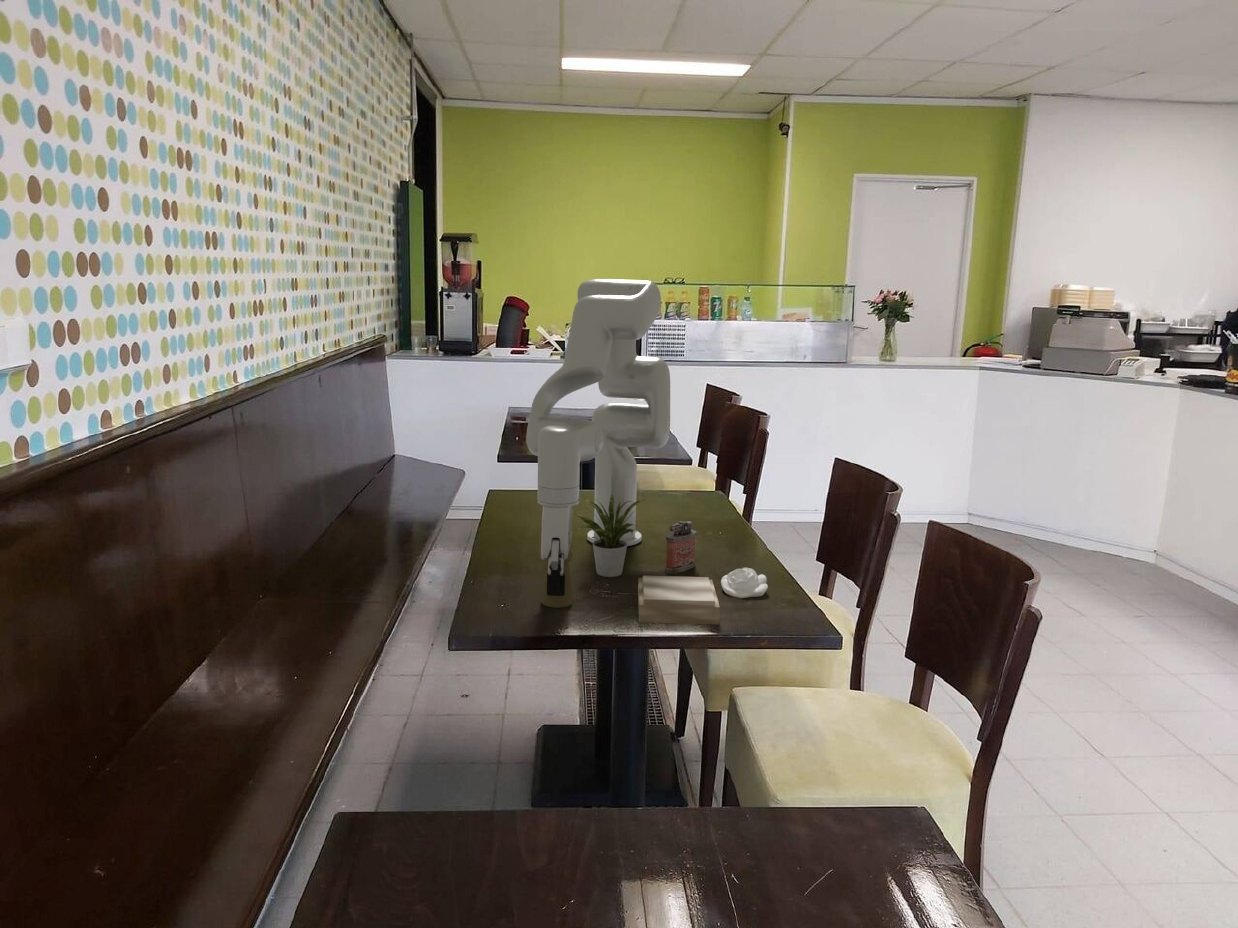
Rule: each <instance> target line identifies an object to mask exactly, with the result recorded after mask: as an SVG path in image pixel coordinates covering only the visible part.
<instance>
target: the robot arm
mask: <svg viewBox="0 0 1238 928" xmlns="http://www.w3.org/2000/svg"><path fill="white" fill-rule="evenodd" d="M576 294H577V295H576V296H577V302H576V303H575V306H574V307H573V312H572V317H571V323H570V327H569V332H568V333H569V334H568V338H567V342H566V343H567V345H566V350H565V353H564V359H563V364H562V366H561V367H560V368H559V369H558V370H556V371H555V372H554V373H553V374H552V375H550V376H549V377H548V378H547V380H546V381H545V382H544V383H543V384H542V385H541V387H540V388H539V389H538V391H537V393H536V394H535V396H534V397H533V401H532V403H531V406H530V407H531V408H530V412H529V417H528V423H527V429H526V435H525V436H526V437H525V438H526V440H525V441H526V445H527V448H528V451H530V453H531V454H532V455H534V456H537V504H538V505H541V506H542V514H541V536H540V537H541V541H540V542H541V545H540V558H541V560H545V558H547V557H548V555H549V558H548V574H547V595H548V596H564V595H565V574H563V573H564V560H566V559H567V558H568V554H569V549H570V548H571V543H572V535H573V532H572V531H573V506H577V505H579V503H580V479H581V478H580V473H581V471H580V470H581V467H580V466H581V465H580V464H581V463H580V462H587V461H590V460H593V459H594V464H595V465H594V467H595V468H594V469H595V470H594V498H595V499H594V503H595V504H597V505H598V506H599V507H600V508H601V510H602V511H603V513H604V514H605V512H604V510H603V508H602V506H601V504H602V505H603V507H604V508H605V510H606V512H607V514H608V516H609V511H608V509H609V502H610V497H611V495H613V498H614V524H615V518H616V511H617V506H618V504H619V502H620V503H621V504H620V506H622V505H623V504H624V503H625V502H627V503H626V504H625V505H624V506H623V507H622V508H621V507H620V508H621V510H620V512H619V517H620V516H622V515H624V513H625V511H626V510H627V508H628V507H629V506H630V505H632V504H633V503H634V502H636V501H637V486H638V485H637V482H638V481H637V479H638V464H637V461H636V459H635V456H634V455H633V454H632V452H631V451H630V449H629V448H631V447H632V448H633V447H635V448H645V449H659V448H660V449H661V448H662V447H664V446H665V445H667V444H668V442H669V439H670V434H671V433H670V432H671V373H670V369H669V365H668V364H667V362H666V361H665V360H664V359H663V358H660V357H656V356H644V355H643V356H641V355H638V354H637V346H636V345H637V340H640V339H642V338H643V337H644V336H645V335H646V334H647V332H648V331H649V330H650V328H651V326H652V325H653V324H654V322H655V320H656V319H657V317H658V316H659V313H660V309H661V303H662V296H661V291H660V288H659V287H658V285H657V284H656V283H655V282H653V281H651V280H643V279H642V280H641V279H616V278H615V279H613V278H595V279H588V280H585V281H583V282H582V283H580V284H579V286H578V288H577V293H576ZM596 383H597V384H598V389H599V392H600V393H601V394H602V396H604V397H607V398H612V399H619V400H636V401H645V402H646V403H647V404H638V403H637V404H636V403H627V402H626V403H623V402H607V403H603V404H601V405H599V406H598V407H596V408H595V409H594V411H593V413H592V417H591V420H587V419H573V418H564V417H563V418H562V417H561V418H560V417H550V415H551V412H552V410H553V408H554V407H555V405H556V404H557V403H558V402H559V401H560V400H561V399H562V398H564V397H566V396H567V395H570V394H571V393H574V392H577V391H578V390H582V389H584V388H586V387H589V386H591V385H595V384H596ZM598 501H599V502H600V503H601V504H600V503H599V502H598ZM628 501H631V502H628ZM593 508H594V507H593ZM597 510H598V509H597ZM597 510H596V509H595V508H594V512H593V518H594V519H593V521H594V522H596V523H597V524H598V525H599V526H600V527H601V528H602V529H603V530H604V529H605V528H604V525H603V523H602V521H601V518H600V516H601V514H600V516H599V514H598V512H597ZM635 510H636V511H635ZM634 511H635V512H634ZM631 514H632V515H631ZM605 515H606V514H605ZM630 515H631V516H630ZM629 516H630V517H629ZM596 517H597V518H598V519H597V518H596ZM619 517H618V518H619ZM628 517H629V518H628ZM636 517H637V504H636V505H635V506H634V507H633V508H632V509H631V510H630V512H629V513H628V514H627V516H626V518H625V519H624V521H625V520H626V519H627V518H628V519H627V520H626V521H625V523H624V522H623V523H624V524H623V523H622V524H623V525H625V524H627V523H630V524H633V526H630V527H628V528H627V529H632V530H635V531H633V534H632V533H631V532H628V533H626V534H624V535H623V536H622V537H621V538H620V539H619V540H623V541H625V542H626V543H627V547H630V546H634V545H637V544H639V543H641V541H642V540H643V537H642V536H643V535H642V533H641V532H639V531H638V530H636V526H635V525H636V523H637V522H636V521H637V520H636ZM599 521H600V522H599ZM601 524H602V525H601ZM602 526H603V527H602ZM621 526H622V525H621ZM613 527H614V525H613ZM620 528H621V527H620ZM606 535H607V534H606ZM586 538H587V541H588V542H590V543H591V544H593V542H594V541H596V540H599V539H600V537H599V536H598V535H597V533H596V532H595V531H594V530H593V529H591V530H589V532H587V534H586ZM559 545H560V546H559ZM559 555H562V557H559ZM558 562H561V565H560V564H558ZM560 567H561V568H560Z"/></svg>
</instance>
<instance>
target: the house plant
mask: <svg viewBox="0 0 1238 928" xmlns="http://www.w3.org/2000/svg"><path fill="white" fill-rule="evenodd" d="M593 499H594V500H595V497H593ZM583 500H585V501H587V502H588V503H589V504H588V505H590V506H592V507H593V508H595V509H596V510H597V509H598V510H597V512H598V514H599V516H600V514H601V516H600V518H601V521H602V523H603V525H604V528H605V529H604V530H603V529H602V528H601V527H600V526H599V525H598V524H597V523H596V522H594V520H592V519H591V518H589V517H587V516H585V515H584V514H583V515H582V514H579V513H573V514H574V515H575V516H576V517H578V518H580V520H582V521H583V522H584V523H586V525H582V526H581V527H579V528H578V530H580V529H584V528H585V529H587V528H588V529H591V530H594V531H595V532H596V533H597V535H598V536H599V537H600V539H599V540H596V541H594V542H593V543H592V548H593V549H592V550H593V555H594V557H593V558H594V562H595V569H596V574H597V575H598V576H600V577H606V578H615V577H619V576H621V575H622V574H623V569H624V565H625V558H626V553H627V547H628V546H627V543H626V542H625V541H623V540H619V539H620V538H621V537H622V536H623V535H624V534H626V533H628V532H631V533H632V534H633V531H635V530H636V529H635V530H632V529H627V528H628V527H630V526H633V524H630V523H627V524H625V525H623V524H624V523H625V521H626V520H627V519H628V518H629V517H630V516H631V515H632V514H631V515H630V516H629V517H628V518H627V519H626V520H625V521H624V519H625V518H626V516H627V514H628V513H629V512H630V510H631V509H632V508H633V507H634V506H635V505H636V506H637V505H638V504H639V503H641V502H643V501H646V500H648V499H640V500H636V502H634V503H633V504H632V505H630V506H629V507H628V508H627V510H626V511H625V513H624V515H622V516H620V517H619V512H620V510H621V508H622V507H623V506H624V505H625V504H626V503H627V502H625V503H624V504H623V505H622V506H620V504H621V503H620V502H619V504H618V506H617V511H616V518H615V524H614V498H613V495H611V497H610V502H609V509H608V511H609V516H608V514H607V512H606V510H605V508H604V507H603V505H602V504H601V503H600V502H599V501H598V502H599V503H600V504H601V506H602V508H603V510H604V512H605V514H606V515H605V514H604V513H603V511H602V510H601V508H600V507H599V506H598V505H597V504H595V502H594V501H591V500H588V499H584V498H583ZM628 502H631V501H628ZM578 505H579V504H578ZM579 506H580V507H583V508H585V509H586V510H588V511H590V512H591V510H590V509H589V508H588V507H586V506H584V505H579ZM620 507H621V508H620ZM635 511H636V512H637V509H636V510H635ZM635 511H634V512H635ZM618 517H619V518H618ZM596 518H597V517H596ZM597 519H598V518H597ZM599 522H600V521H599ZM623 522H624V523H623ZM622 523H623V524H622ZM601 525H602V524H601ZM613 525H614V527H613ZM621 525H622V526H621ZM602 527H603V526H602ZM620 527H621V528H620ZM635 528H638V526H637V524H635ZM606 534H607V535H606Z"/></svg>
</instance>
